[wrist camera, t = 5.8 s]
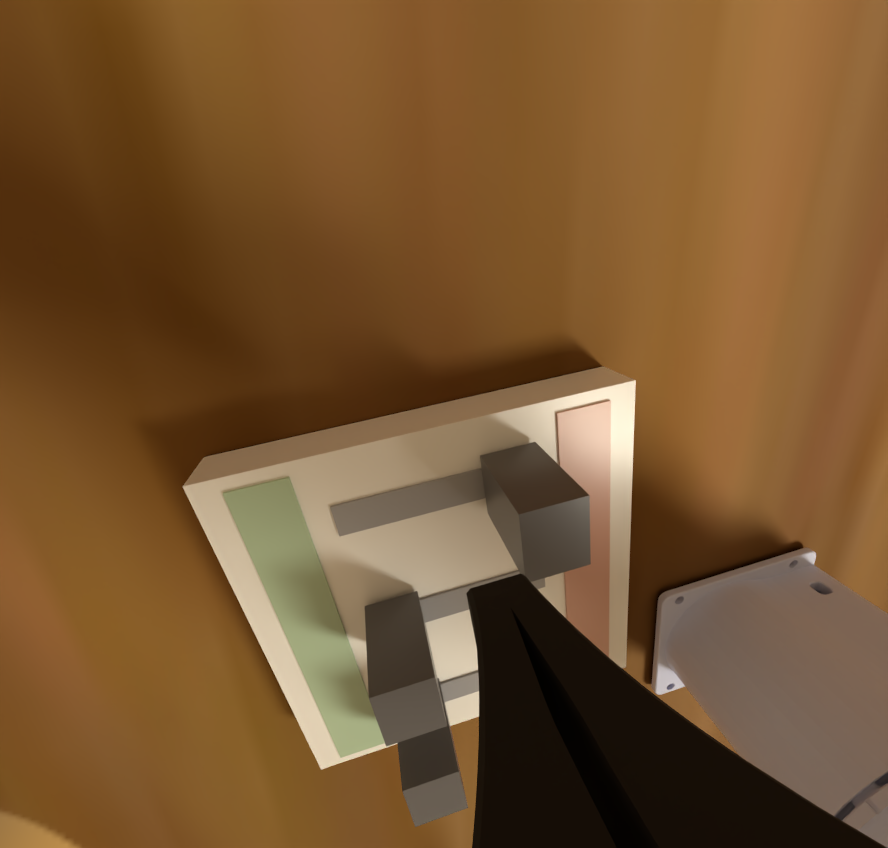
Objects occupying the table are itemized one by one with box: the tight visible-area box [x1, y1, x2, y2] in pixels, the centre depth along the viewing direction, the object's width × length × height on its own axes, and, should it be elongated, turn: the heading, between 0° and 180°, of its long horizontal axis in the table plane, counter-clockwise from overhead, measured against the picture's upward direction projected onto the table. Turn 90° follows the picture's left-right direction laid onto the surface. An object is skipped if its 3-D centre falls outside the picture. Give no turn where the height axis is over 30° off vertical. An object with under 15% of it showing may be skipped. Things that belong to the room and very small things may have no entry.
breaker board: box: [183, 366, 636, 769], centre depth 17 cm, size 15×15×2 cm
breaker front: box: [480, 442, 591, 582], centre depth 13 cm, size 2×2×4 cm
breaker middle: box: [365, 591, 447, 746], centre depth 14 cm, size 2×2×4 cm
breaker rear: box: [398, 678, 468, 827], centre depth 16 cm, size 2×2×4 cm
